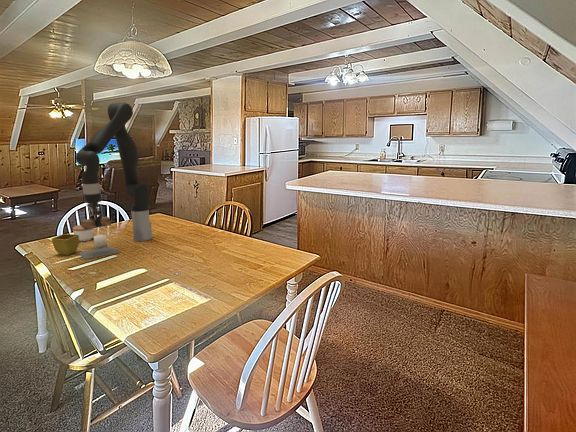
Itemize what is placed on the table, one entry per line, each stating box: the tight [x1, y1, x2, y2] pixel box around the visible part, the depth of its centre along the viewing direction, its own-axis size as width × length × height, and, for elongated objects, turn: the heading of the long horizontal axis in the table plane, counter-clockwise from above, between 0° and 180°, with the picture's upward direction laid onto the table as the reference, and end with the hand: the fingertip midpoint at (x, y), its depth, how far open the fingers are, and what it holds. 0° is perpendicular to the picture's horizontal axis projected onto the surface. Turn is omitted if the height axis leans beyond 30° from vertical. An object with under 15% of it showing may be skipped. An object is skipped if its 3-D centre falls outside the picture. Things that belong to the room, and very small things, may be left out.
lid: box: [80, 216, 112, 230], centre depth 184 cm, size 12×6×4 cm, turn 132°
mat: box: [78, 246, 120, 261], centre depth 188 cm, size 16×12×1 cm
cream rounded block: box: [92, 234, 108, 249], centre depth 198 cm, size 6×6×6 cm
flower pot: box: [51, 233, 80, 256], centre depth 186 cm, size 9×9×9 cm
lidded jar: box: [72, 224, 95, 242], centre depth 209 cm, size 11×11×9 cm
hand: (96, 225), depth 185 cm, fingers closed on lid, 6 cm apart
